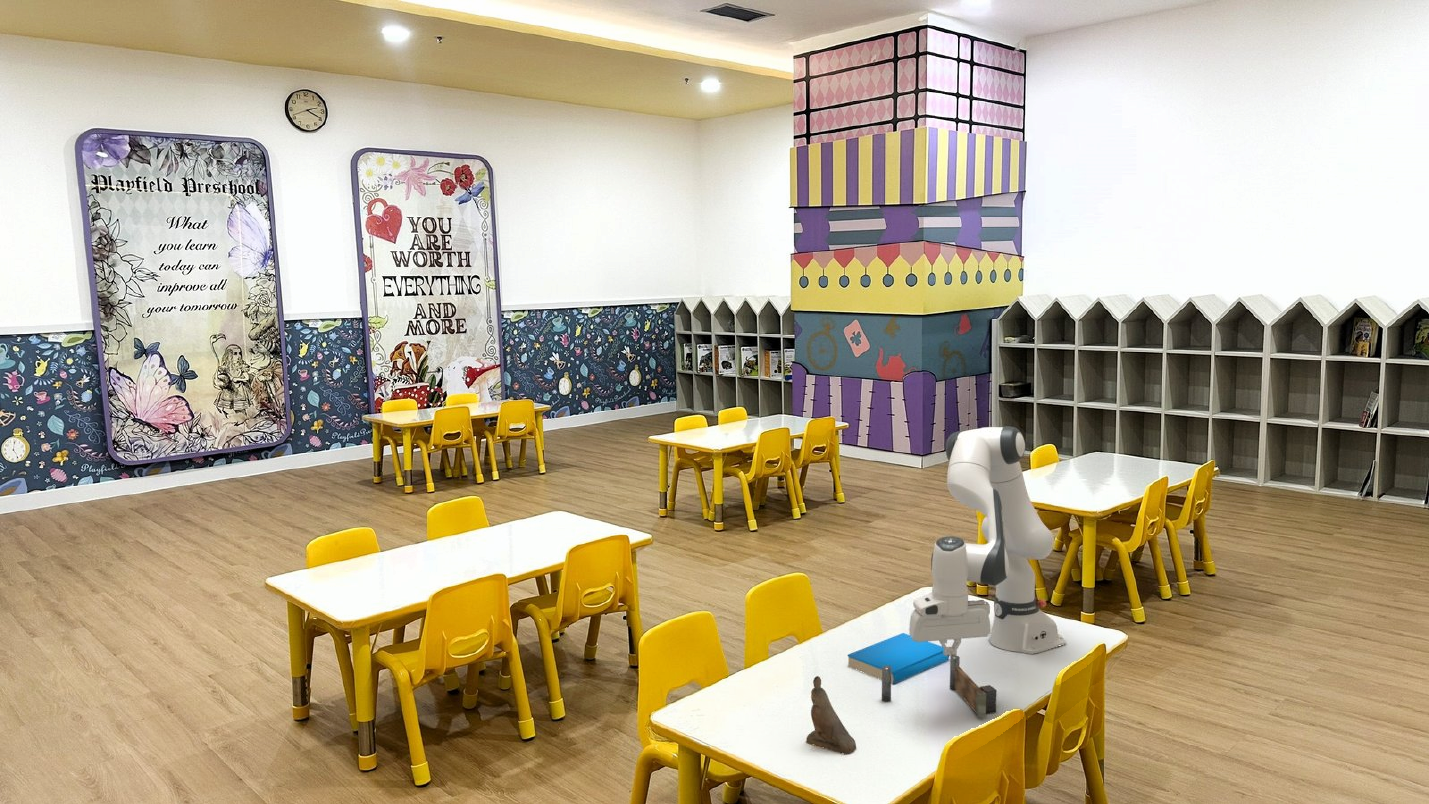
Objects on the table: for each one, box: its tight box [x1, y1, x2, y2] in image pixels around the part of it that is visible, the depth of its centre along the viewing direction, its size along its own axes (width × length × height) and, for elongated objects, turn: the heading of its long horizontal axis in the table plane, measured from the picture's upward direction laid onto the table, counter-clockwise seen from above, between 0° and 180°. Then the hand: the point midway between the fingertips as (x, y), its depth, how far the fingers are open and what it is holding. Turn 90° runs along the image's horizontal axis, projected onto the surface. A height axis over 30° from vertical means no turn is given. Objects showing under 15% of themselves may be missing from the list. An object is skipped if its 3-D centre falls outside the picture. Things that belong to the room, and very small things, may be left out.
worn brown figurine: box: [805, 675, 857, 755], centre depth 230 cm, size 12×6×18 cm, turn 53°
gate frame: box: [881, 655, 998, 715], centre depth 250 cm, size 24×17×9 cm
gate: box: [955, 665, 987, 718], centre depth 249 cm, size 17×2×6 cm, turn 7°
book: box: [847, 632, 950, 685], centre depth 277 cm, size 17×4×25 cm
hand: (949, 654), depth 244 cm, fingers closed
